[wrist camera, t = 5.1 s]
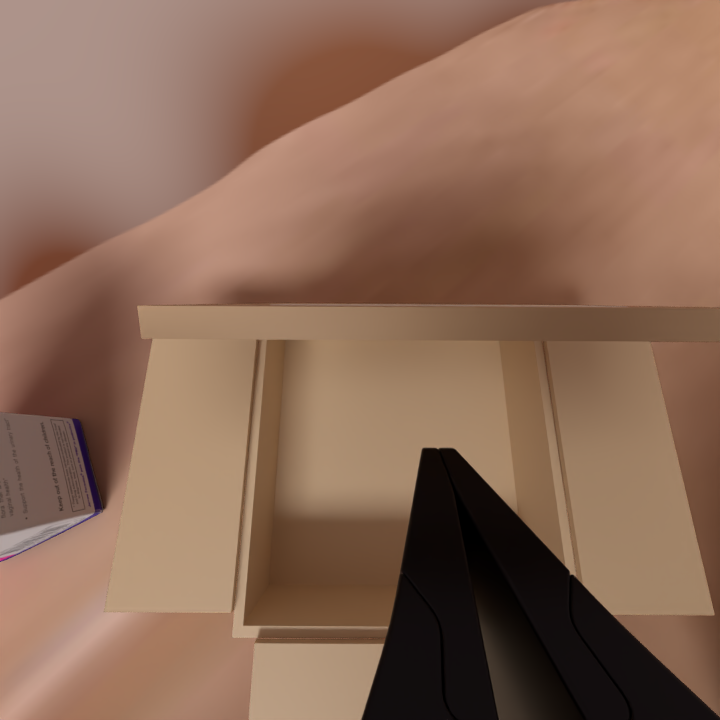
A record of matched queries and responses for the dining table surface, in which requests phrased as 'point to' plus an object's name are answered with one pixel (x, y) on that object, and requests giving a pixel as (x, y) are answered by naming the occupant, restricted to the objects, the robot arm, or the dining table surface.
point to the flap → (429, 322)
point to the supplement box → (43, 480)
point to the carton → (386, 488)
